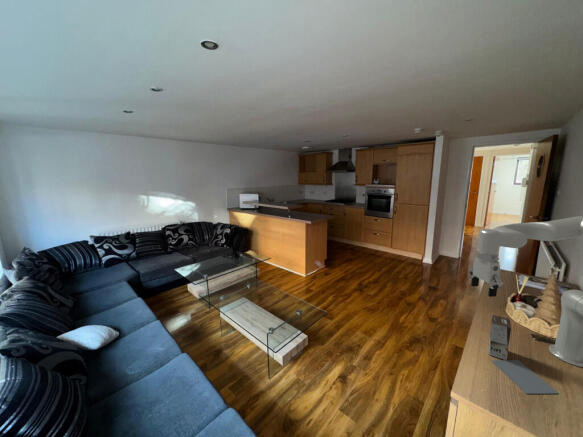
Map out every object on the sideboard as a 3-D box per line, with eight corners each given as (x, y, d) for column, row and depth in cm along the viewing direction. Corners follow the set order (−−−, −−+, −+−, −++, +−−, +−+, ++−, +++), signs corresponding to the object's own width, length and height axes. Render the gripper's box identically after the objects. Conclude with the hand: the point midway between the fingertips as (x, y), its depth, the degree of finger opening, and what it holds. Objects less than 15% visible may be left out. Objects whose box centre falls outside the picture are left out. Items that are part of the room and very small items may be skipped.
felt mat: (518, 360, 103) (518, 360, 103) (558, 393, 87) (558, 393, 87) (491, 360, 103) (491, 360, 103) (526, 394, 87) (526, 393, 87)
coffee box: (507, 361, 102) (511, 328, 100) (488, 354, 106) (492, 323, 104) (505, 349, 109) (509, 318, 107) (488, 343, 113) (491, 314, 111)
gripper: (513, 262, 95) (508, 300, 99) (479, 249, 113) (476, 282, 116) (496, 263, 95) (491, 301, 98) (464, 250, 112) (461, 282, 115)
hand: (483, 291), depth 107 cm, fingers open, 9 cm apart
